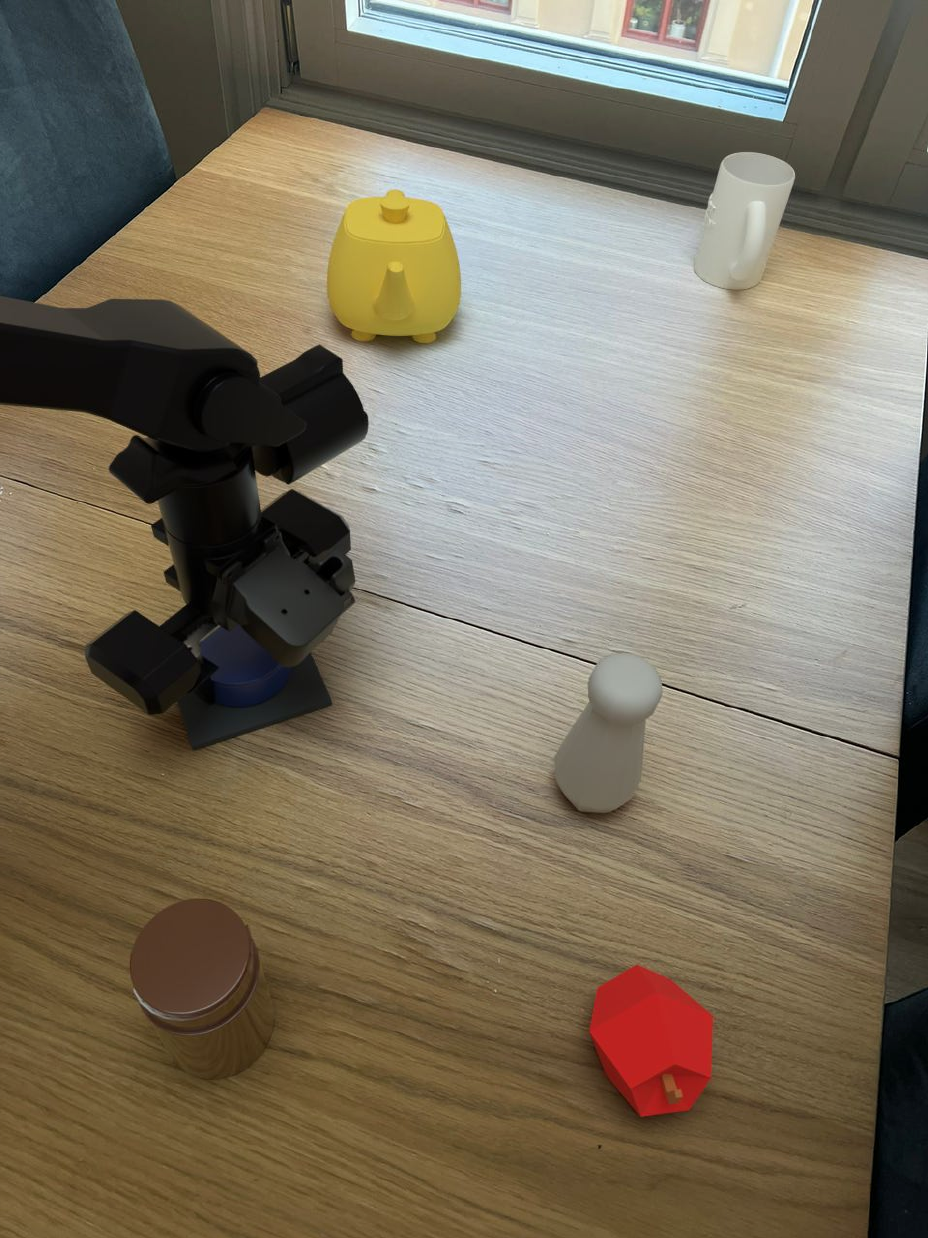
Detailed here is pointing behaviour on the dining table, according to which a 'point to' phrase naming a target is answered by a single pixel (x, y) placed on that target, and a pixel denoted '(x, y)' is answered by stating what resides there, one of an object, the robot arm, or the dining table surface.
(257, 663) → the jar lid
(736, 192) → the mug
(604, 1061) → the apple
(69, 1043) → the dining table surface
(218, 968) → the jam jar
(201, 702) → the mat
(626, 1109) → the dining table surface
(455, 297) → the teapot
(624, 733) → the salt shaker
